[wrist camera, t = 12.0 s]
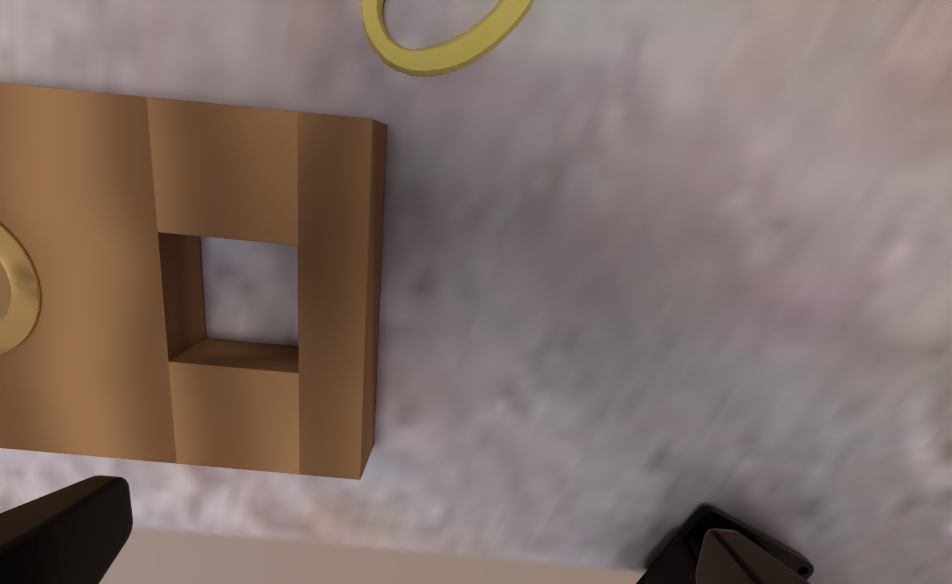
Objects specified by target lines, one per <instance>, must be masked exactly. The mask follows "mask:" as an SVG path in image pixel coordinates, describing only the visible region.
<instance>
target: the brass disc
mask: <svg viewBox="0 0 952 584" xmlns="http://www.w3.org/2000/svg"><path fill="white" fill-rule="evenodd" d="M0 262H1V264H2V265H3V267H4V269H5V271H6V273H7V276H8V279H9V283H10V288H11V302H10V306H9V309H8V311H7V314H6V315H5V317H4V318H3V319H2V321H1V322H0V354H2V353H5V352H8V351H10V350H12V349H14V348H16V347H17V346H19V345H20V344H21V343H23V342H24V341H25V340H26V339H27V338H28V337H29V336H30V334H31V333H32V332H33V330H34V329H35V327H36V324H37V322H38V320H39V316H40V312H41V306H42V291H41V285H40V280H39V277H38V274H37V271H36V268H35V266H34V264H33V261H32V259H31V258H30V256H29V254H28V253H27V251H26V249H25V248H24V247H23V245H22V244H21V243H20V241H19V240H18V239H17V238H16V237H15V236H14V234H13V233H12V232H11V231H10V230H9V229H8V228H6V227H5V226H4V225H3V224H2V223H1V222H0Z"/></svg>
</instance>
